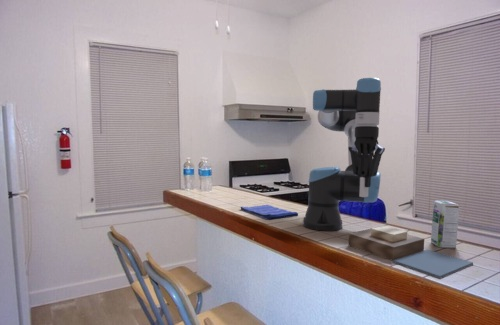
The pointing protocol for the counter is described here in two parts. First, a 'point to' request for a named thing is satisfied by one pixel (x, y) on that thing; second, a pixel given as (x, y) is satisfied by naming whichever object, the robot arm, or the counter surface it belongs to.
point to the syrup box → (445, 224)
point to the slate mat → (433, 263)
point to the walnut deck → (385, 245)
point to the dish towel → (269, 212)
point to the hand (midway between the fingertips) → (363, 196)
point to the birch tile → (389, 233)
